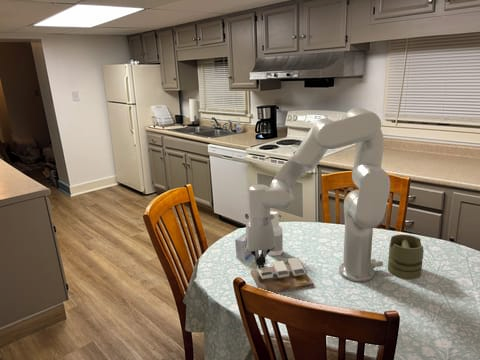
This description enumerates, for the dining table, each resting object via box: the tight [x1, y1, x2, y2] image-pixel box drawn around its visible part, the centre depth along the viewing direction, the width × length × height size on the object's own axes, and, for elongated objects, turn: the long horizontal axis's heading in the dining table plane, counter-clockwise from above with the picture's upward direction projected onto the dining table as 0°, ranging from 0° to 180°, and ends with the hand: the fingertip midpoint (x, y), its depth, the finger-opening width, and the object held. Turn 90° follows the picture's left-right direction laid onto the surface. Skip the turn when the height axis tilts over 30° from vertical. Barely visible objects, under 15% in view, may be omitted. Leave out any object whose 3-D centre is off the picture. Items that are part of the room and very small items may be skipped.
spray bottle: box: [267, 210, 284, 257], centre depth 151 cm, size 7×7×18 cm
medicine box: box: [234, 233, 253, 262], centre depth 151 cm, size 8×4×9 cm, turn 143°
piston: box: [387, 234, 425, 280], centre depth 133 cm, size 11×12×11 cm
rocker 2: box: [287, 256, 306, 276], centre depth 134 cm, size 4×7×1 cm, turn 12°
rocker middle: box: [271, 260, 289, 278], centre depth 133 cm, size 4×7×1 cm, turn 13°
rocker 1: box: [256, 264, 273, 279], centre depth 132 cm, size 4×7×1 cm, turn 13°
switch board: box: [250, 263, 315, 294], centre depth 133 cm, size 19×15×3 cm
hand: (260, 265), depth 135 cm, fingers closed
